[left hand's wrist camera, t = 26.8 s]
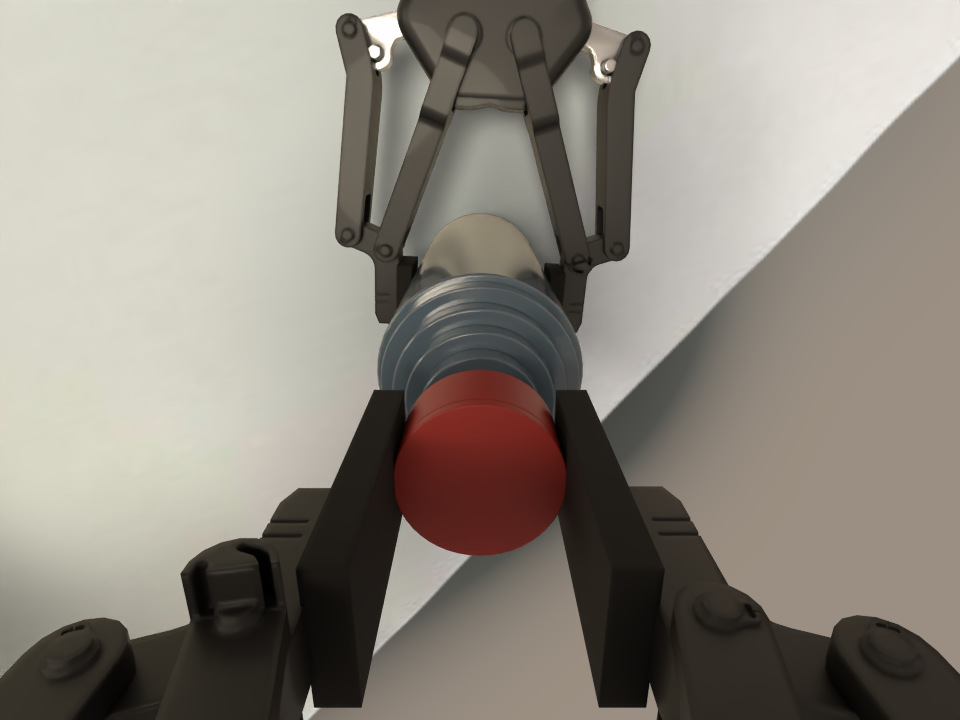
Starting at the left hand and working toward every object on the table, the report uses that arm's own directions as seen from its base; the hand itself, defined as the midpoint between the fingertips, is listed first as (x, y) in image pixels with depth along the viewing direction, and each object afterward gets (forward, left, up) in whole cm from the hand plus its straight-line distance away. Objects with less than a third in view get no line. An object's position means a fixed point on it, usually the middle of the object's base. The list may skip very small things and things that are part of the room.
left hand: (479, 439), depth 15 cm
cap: (0, 0, +2) cm, 2 cm away
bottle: (0, 0, -22) cm, 22 cm away
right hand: (-4, -3, -16) cm, 17 cm away
